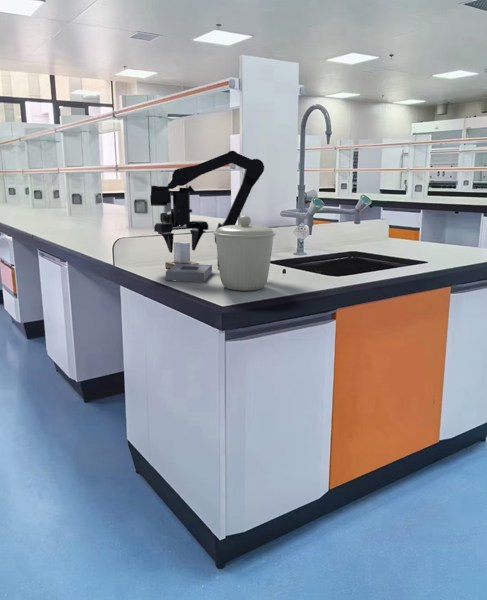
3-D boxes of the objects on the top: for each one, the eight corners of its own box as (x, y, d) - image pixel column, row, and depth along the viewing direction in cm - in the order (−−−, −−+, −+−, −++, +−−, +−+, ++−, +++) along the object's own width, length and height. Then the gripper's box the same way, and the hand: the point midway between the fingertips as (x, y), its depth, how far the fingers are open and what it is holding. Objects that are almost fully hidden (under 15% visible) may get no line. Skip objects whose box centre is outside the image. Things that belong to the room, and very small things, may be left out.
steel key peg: (184, 266, 187) (183, 241, 185) (190, 268, 184) (189, 243, 182) (174, 268, 185) (173, 242, 183) (180, 269, 182) (179, 243, 179)
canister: (243, 278, 168) (244, 212, 163) (286, 287, 156) (289, 216, 151) (200, 287, 155) (200, 215, 150) (244, 297, 143) (246, 219, 138)
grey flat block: (211, 273, 175) (211, 264, 175) (203, 282, 162) (203, 272, 161) (176, 272, 177) (176, 263, 176) (165, 280, 163) (165, 271, 162)
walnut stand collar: (186, 265, 190) (185, 259, 190) (199, 268, 184) (198, 263, 183) (165, 267, 185) (165, 262, 185) (178, 271, 179) (178, 265, 178)
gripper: (191, 204, 191) (192, 246, 195) (145, 205, 180) (147, 250, 183) (209, 205, 182) (209, 250, 186) (162, 207, 171) (163, 255, 175)
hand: (182, 251), depth 183 cm, fingers open, 9 cm apart
